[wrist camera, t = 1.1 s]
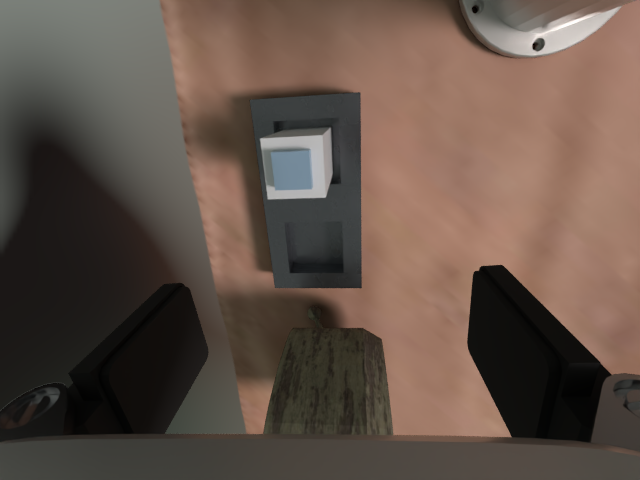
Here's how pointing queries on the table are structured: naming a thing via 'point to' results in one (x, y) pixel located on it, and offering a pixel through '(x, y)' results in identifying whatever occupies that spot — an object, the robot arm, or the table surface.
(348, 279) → the panel
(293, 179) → the plug
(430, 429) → the table surface
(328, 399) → the tabletop clock
